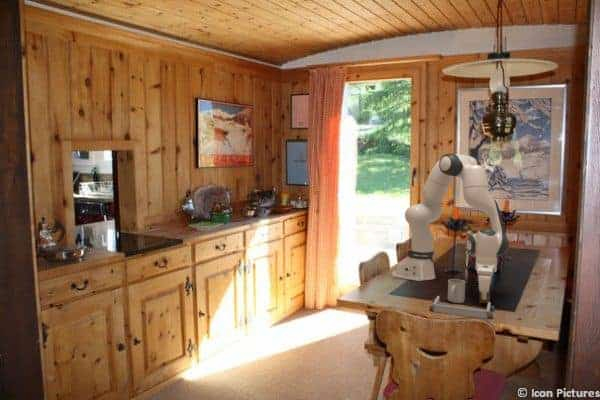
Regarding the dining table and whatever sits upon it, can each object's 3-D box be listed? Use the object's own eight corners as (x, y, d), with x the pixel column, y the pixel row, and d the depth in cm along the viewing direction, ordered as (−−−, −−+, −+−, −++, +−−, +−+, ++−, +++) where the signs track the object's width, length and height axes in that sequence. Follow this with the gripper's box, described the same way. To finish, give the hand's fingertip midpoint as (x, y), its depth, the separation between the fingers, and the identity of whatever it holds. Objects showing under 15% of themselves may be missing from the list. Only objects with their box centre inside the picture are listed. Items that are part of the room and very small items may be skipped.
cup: (466, 300, 224) (467, 280, 223) (459, 305, 216) (460, 285, 215) (450, 297, 228) (451, 278, 227) (443, 302, 220) (443, 283, 219)
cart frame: (429, 311, 209) (429, 304, 208) (433, 302, 221) (434, 295, 220) (492, 319, 199) (492, 312, 199) (493, 309, 211) (494, 302, 210)
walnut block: (479, 302, 221) (479, 291, 220) (479, 299, 224) (480, 289, 224) (488, 303, 219) (489, 292, 219) (489, 301, 223) (489, 290, 222)
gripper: (480, 260, 231) (478, 289, 232) (476, 270, 212) (475, 302, 214) (494, 262, 228) (493, 291, 230) (492, 272, 210) (491, 304, 211)
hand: (484, 296), depth 221 cm, fingers open, 5 cm apart
